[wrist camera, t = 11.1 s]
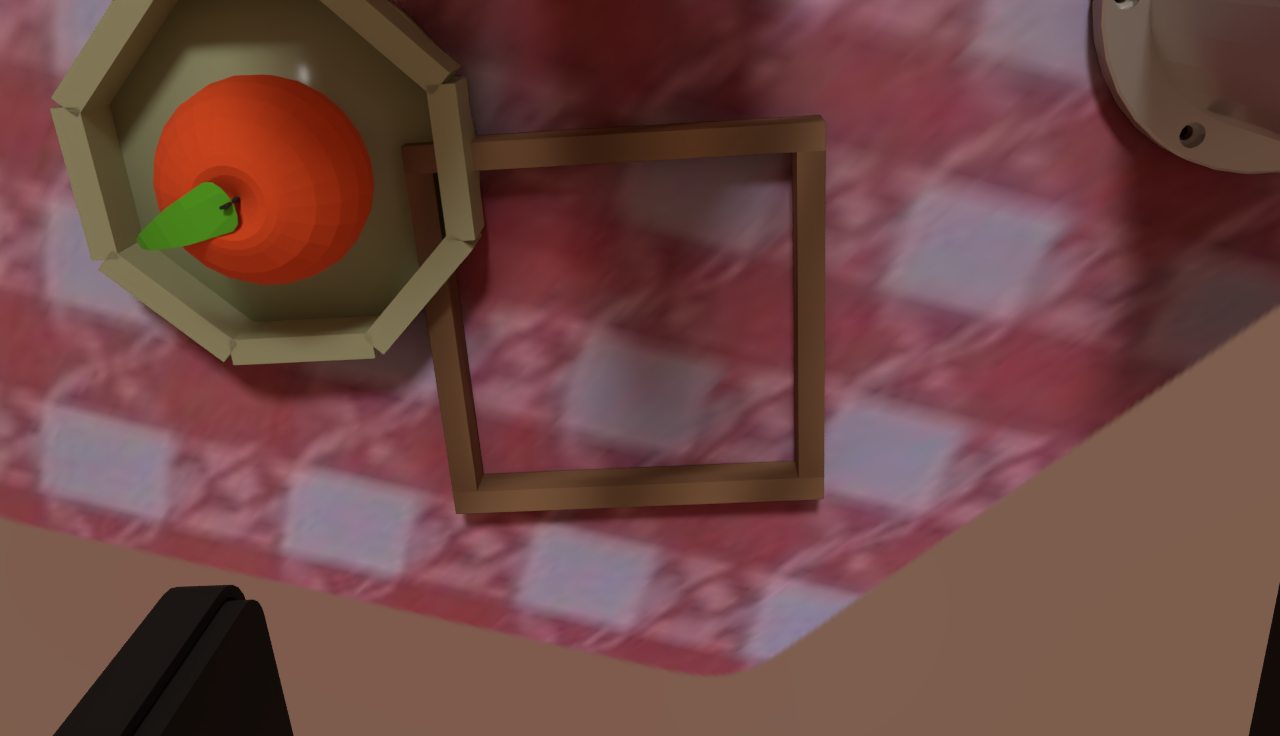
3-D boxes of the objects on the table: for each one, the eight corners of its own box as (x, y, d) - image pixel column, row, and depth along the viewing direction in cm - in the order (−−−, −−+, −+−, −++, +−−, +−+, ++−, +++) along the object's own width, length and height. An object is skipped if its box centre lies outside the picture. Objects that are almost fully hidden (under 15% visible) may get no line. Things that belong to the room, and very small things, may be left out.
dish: (454, -56, 35) (437, -56, 33) (501, 327, 41) (489, 352, 38) (60, -29, 36) (13, -26, 34) (156, 344, 41) (122, 370, 39)
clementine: (249, 292, 40) (165, 361, 33) (145, 125, 37) (32, 164, 31) (430, 207, 38) (379, 262, 32) (333, 28, 36) (256, 47, 29)
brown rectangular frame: (820, 115, 37) (825, 121, 36) (819, 481, 43) (823, 499, 41) (410, 139, 38) (400, 146, 37) (462, 496, 44) (456, 513, 42)
